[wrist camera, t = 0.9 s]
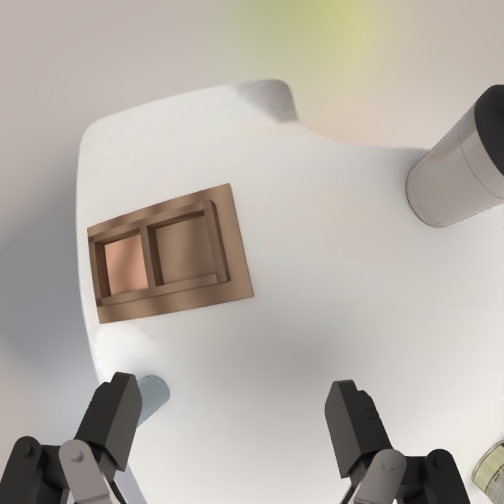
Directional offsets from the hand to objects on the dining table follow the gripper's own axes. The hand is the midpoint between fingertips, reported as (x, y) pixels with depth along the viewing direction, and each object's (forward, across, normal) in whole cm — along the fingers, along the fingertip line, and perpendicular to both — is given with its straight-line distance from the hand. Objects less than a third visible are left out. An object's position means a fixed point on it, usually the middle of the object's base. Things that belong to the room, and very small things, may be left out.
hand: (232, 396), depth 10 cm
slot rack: (+25, +10, +5) cm, 28 cm away
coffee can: (-1, -47, +34) cm, 58 cm away
